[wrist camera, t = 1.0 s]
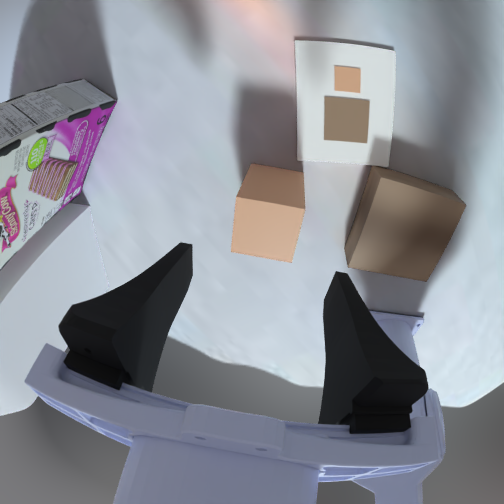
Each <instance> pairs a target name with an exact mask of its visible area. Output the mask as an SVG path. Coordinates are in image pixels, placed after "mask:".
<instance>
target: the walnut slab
mask: <svg viewBox="0 0 504 504" xmlns="http://www.w3.org/2000/svg"><path fill="white" fill-rule="evenodd" d="M465 207H466V204H465V203H464V202H463V201H462V200H461V199H460V198H459V197H458V196H457V195H456V194H455V193H454V191H452V190H450V189H447V188H444V187H442V186H439V185H436V184H433V183H430V182H428V181H425V180H422V179H419V178H416V177H413V176H410V175H406V174H403V173H400V172H397V171H394V170H390V169H387V168H383V167H380V166H373V165H372V166H371V170H370V173H369V176H368V180H367V183H366V186H365V189H364V193H363V196H362V199H361V202H360V205H359V208H358V211H357V214H356V217H355V220H354V223H353V225H352V228H351V231H350V234H349V237H348V240H347V242H346V245H345V248H344V249H345V255H346V260H347V265H348V267H349V268H354V269H360V270H365V271H371V272H376V273H382V274H387V275H393V276H398V277H403V278H409V279H414V280H420V281H425V282H427V280H428V279H429V277H430V275H431V273H432V272H433V270H434V268H435V267H436V265H437V263H438V261H439V259H440V258H441V256H442V254H443V252H444V250H445V248H446V246H447V245H448V243H449V241H450V239H451V237H452V235H453V233H454V231H455V229H456V227H457V225H458V222H459V220H460V218H461V216H462V214H463V212H464V209H465Z"/></svg>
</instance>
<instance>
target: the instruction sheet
mask: <svg viewBox="0 0 504 504" xmlns="http://www.w3.org/2000/svg"><path fill="white" fill-rule="evenodd" d="M295 60H296V90H297V161H318V162H336V163H350V164H362V165H373V166H383V167H388V166H389V158H390V149H391V140H392V130H393V118H394V103H395V78H396V51H392V50H387V49H382V48H376V47H370V46H363V45H355V44H346V43H336V42H323V41H301V40H295Z"/></svg>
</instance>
